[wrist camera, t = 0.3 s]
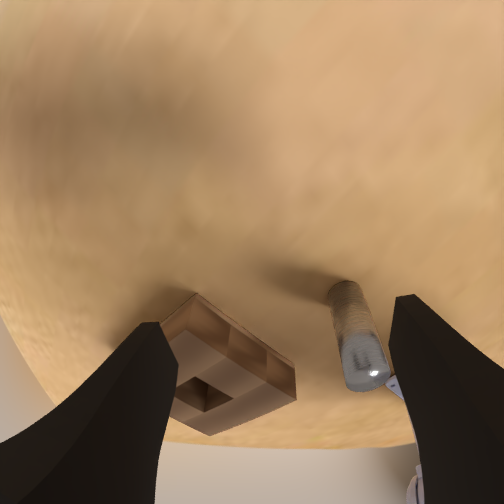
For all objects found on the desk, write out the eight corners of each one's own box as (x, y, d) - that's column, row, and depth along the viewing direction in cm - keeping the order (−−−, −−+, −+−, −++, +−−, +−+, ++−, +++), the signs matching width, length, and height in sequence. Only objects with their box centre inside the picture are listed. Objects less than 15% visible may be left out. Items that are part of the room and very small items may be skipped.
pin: (368, 295, 20) (397, 376, 14) (340, 314, 21) (360, 396, 15) (349, 274, 19) (377, 357, 13) (320, 295, 20) (336, 380, 14)
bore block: (294, 364, 24) (296, 399, 21) (214, 406, 28) (209, 436, 25) (196, 292, 21) (185, 329, 18) (126, 353, 24) (113, 384, 21)
